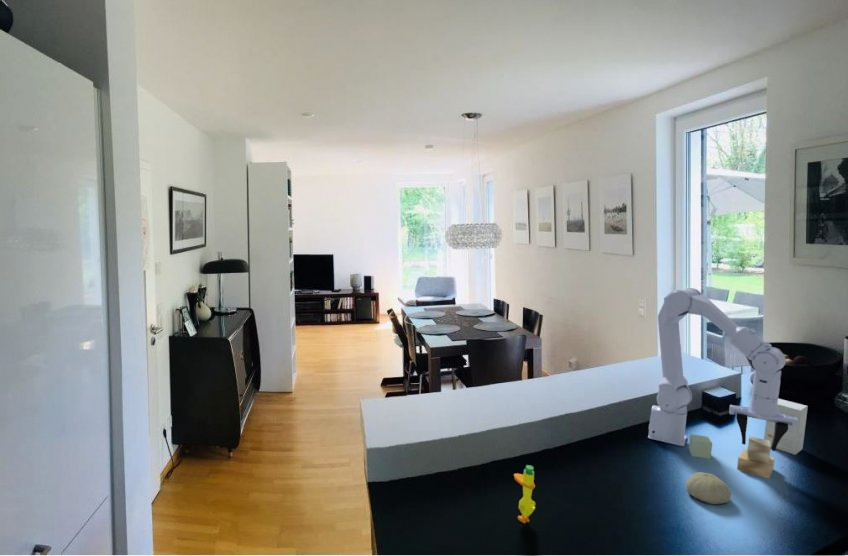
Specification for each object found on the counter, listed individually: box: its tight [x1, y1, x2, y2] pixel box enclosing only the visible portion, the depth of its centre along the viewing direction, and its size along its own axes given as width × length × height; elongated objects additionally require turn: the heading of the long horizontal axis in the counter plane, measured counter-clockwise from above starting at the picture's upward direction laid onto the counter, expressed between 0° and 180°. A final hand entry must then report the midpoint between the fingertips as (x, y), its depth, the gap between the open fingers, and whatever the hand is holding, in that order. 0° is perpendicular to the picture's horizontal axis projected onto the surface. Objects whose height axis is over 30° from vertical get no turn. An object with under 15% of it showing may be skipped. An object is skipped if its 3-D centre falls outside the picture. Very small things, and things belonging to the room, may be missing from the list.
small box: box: [763, 398, 809, 456], centre depth 149 cm, size 8×6×13 cm
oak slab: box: [736, 448, 776, 480], centre depth 135 cm, size 7×7×4 cm
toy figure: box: [513, 464, 536, 524], centre depth 108 cm, size 7×4×12 cm, turn 30°
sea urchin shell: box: [685, 471, 732, 505], centre depth 121 cm, size 9×8×8 cm
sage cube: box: [688, 433, 713, 460], centre depth 143 cm, size 4×4×4 cm
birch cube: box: [746, 435, 772, 464], centre depth 134 cm, size 4×4×4 cm
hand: (758, 446), depth 135 cm, fingers open, 6 cm apart
